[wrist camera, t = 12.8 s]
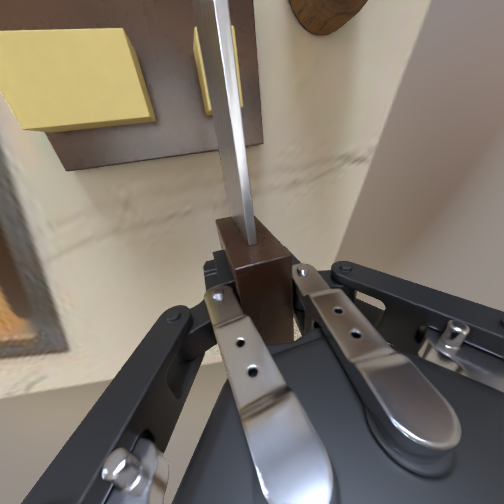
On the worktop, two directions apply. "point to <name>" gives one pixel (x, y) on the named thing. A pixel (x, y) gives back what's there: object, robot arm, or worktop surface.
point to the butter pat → (202, 73)
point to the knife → (242, 189)
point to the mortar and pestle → (325, 13)
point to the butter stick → (72, 79)
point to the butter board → (148, 76)
